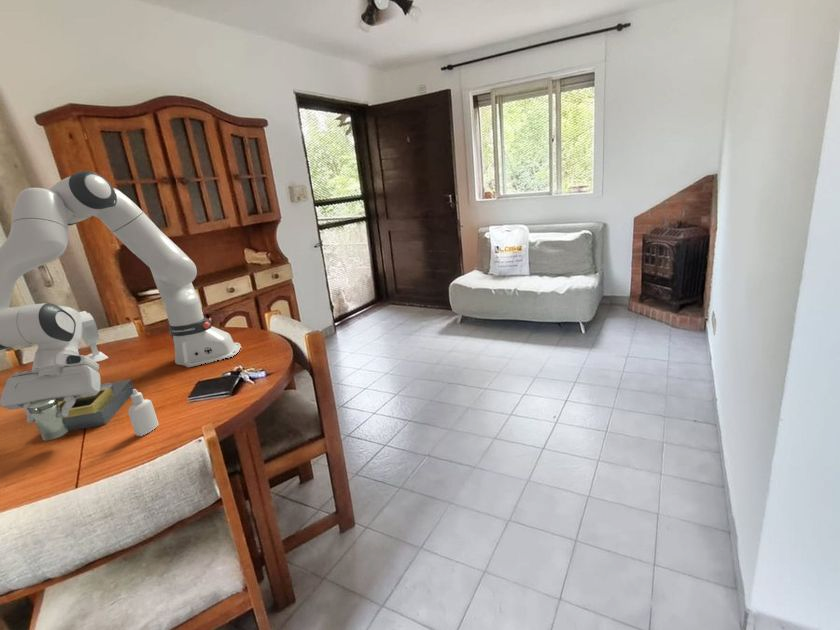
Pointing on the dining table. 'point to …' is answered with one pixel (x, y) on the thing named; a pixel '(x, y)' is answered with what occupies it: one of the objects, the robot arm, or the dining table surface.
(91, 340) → the white angular piece
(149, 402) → the eye dropper bottle
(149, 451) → the dining table surface
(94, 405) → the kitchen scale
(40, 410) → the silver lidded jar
